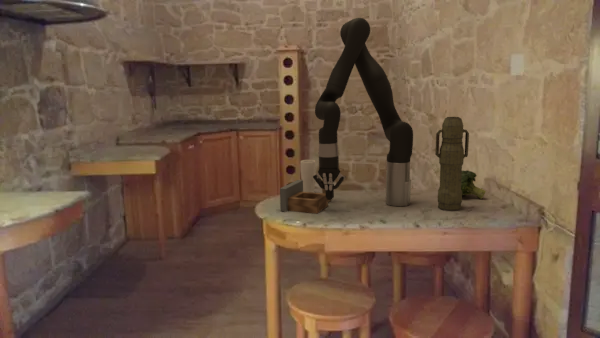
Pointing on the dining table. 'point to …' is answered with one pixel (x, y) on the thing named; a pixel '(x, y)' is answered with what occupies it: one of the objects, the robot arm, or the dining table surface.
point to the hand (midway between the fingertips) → (329, 199)
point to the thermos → (451, 163)
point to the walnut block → (307, 202)
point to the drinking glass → (308, 175)
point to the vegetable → (470, 185)
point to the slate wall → (289, 193)
